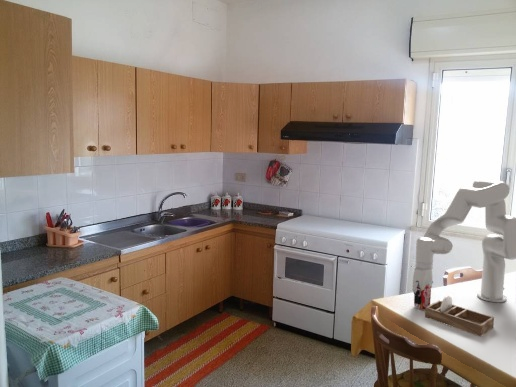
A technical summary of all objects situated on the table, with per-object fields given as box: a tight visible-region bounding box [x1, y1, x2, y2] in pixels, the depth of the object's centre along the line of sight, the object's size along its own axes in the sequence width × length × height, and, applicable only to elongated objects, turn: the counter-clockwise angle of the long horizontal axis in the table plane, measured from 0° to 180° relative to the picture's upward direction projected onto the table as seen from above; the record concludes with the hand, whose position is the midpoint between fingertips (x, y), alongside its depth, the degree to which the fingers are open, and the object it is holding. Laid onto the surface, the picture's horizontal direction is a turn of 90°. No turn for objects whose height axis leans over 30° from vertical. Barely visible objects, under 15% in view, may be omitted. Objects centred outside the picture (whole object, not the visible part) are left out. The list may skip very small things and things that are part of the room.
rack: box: [424, 300, 495, 337], centre depth 187 cm, size 12×24×4 cm, turn 40°
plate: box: [440, 295, 453, 313], centre depth 191 cm, size 9×1×9 cm, turn 130°
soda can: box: [413, 284, 432, 311], centre depth 201 cm, size 7×7×12 cm
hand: (422, 301), depth 202 cm, fingers closed on soda can, 7 cm apart
